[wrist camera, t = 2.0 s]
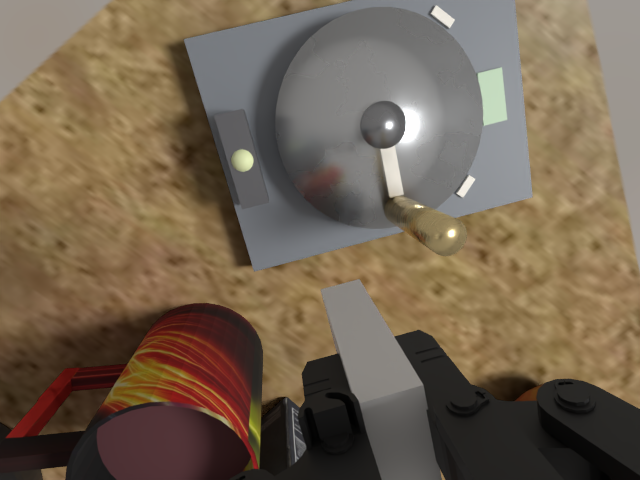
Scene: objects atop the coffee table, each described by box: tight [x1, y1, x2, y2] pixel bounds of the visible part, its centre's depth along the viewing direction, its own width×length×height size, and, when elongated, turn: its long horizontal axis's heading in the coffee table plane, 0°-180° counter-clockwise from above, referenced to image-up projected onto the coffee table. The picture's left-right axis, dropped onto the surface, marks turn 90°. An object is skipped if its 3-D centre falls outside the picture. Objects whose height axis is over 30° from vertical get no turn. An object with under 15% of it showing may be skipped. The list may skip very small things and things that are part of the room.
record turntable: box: [184, 0, 532, 271], centre depth 27 cm, size 22×16×4 cm
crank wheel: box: [275, 7, 483, 256], centre depth 23 cm, size 14×14×9 cm
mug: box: [0, 303, 263, 480], centre depth 26 cm, size 10×14×12 cm
